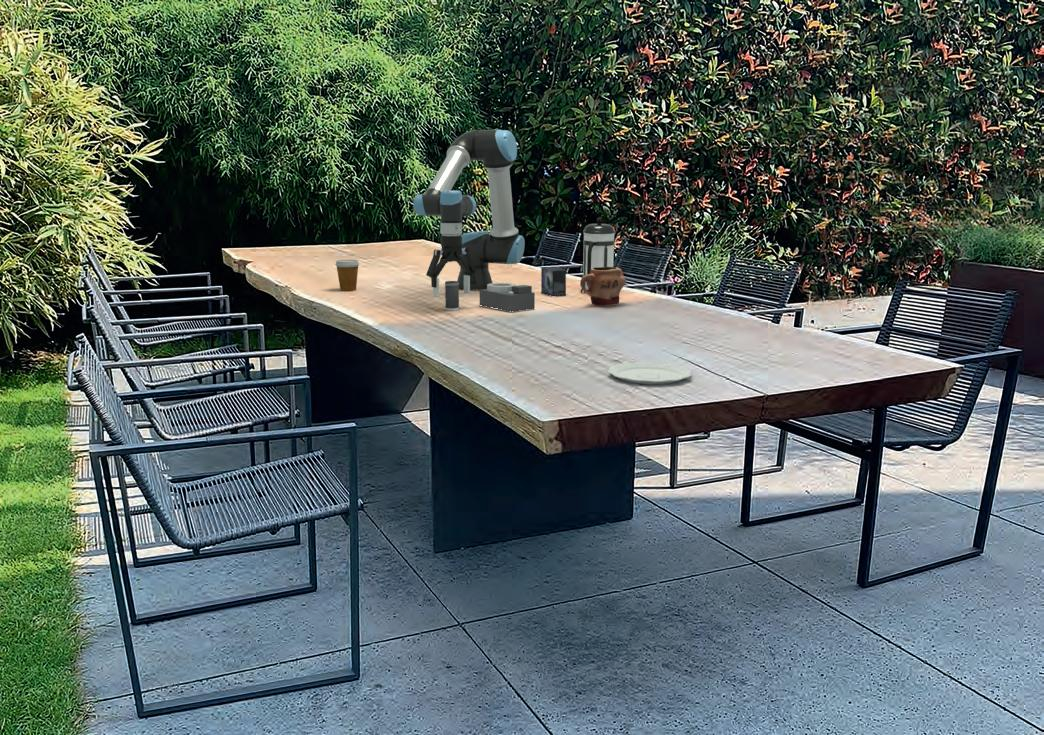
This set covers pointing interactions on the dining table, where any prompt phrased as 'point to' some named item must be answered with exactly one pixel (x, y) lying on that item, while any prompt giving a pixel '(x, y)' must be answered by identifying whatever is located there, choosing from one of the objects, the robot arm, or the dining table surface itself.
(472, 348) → the dining table surface
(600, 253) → the coffee press
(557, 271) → the small box
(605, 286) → the brown clay mug
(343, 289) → the disposable coffee cup
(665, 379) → the plate
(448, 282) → the lens
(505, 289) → the camera body
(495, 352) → the dining table surface
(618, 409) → the dining table surface
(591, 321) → the dining table surface
